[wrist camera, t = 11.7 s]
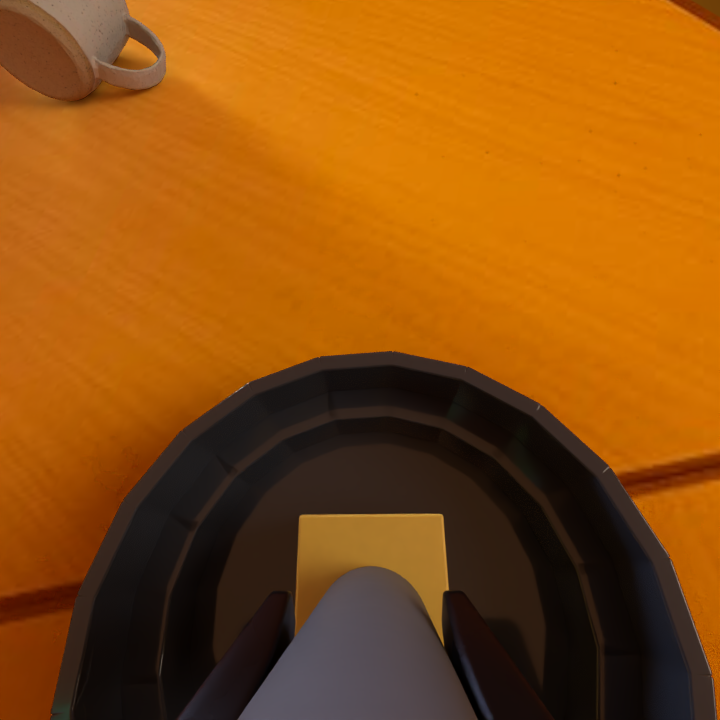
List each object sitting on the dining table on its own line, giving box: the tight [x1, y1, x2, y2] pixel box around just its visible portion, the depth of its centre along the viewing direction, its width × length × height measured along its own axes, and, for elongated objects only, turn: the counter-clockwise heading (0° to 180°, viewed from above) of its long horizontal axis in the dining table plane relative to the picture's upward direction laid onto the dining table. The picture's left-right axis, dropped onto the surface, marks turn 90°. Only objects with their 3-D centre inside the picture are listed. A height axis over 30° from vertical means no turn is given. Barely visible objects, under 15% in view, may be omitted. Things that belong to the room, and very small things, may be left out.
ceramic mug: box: [0, 0, 166, 101], centre depth 29 cm, size 11×8×8 cm
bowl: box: [50, 351, 717, 720], centre depth 13 cm, size 17×17×5 cm
